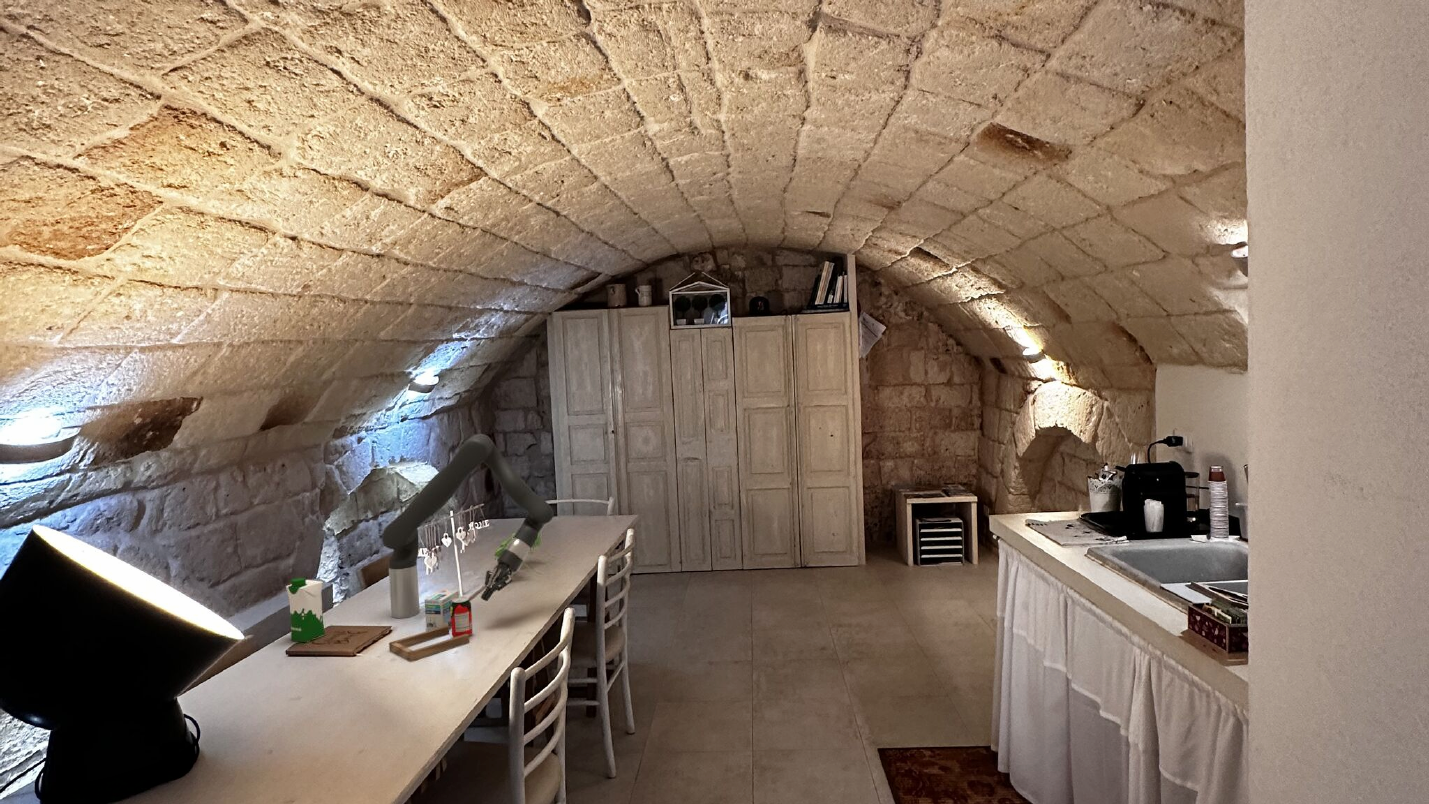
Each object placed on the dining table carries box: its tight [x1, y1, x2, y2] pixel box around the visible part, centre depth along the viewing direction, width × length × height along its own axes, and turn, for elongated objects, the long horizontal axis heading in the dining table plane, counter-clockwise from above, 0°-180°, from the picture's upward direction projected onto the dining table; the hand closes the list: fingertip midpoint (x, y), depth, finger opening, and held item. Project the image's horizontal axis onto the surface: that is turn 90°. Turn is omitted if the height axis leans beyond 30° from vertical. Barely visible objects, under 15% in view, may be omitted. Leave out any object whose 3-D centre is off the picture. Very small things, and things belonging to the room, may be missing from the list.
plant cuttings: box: [493, 528, 558, 578], centre depth 316 cm, size 35×17×22 cm
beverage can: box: [450, 596, 474, 638], centre depth 245 cm, size 6×6×12 cm
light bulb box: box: [424, 589, 460, 632], centre depth 256 cm, size 11×7×11 cm, turn 168°
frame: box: [388, 625, 470, 662], centre depth 238 cm, size 14×19×2 cm
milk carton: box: [285, 577, 326, 643], centre depth 249 cm, size 9×9×20 cm
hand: (483, 599), depth 251 cm, fingers closed
